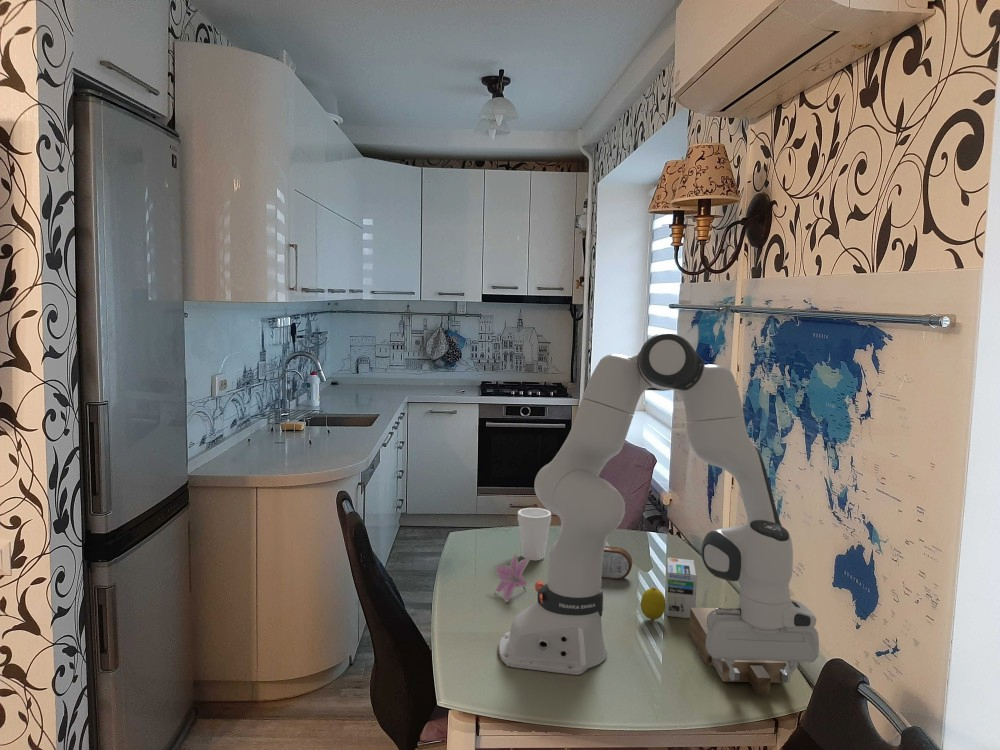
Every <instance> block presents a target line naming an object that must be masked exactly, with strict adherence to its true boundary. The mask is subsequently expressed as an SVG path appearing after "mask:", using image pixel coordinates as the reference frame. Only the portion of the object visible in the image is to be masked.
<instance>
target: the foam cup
mask: <svg viewBox="0 0 1000 750" xmlns="http://www.w3.org/2000/svg"><path fill="white" fill-rule="evenodd" d="M517 522H518V528H519V537H520V547H521V549H520V550H521V555H522V556H523V557H524V558H530V560H539V561H542V560H544V559H545V554H546V549H547V543H548V537H549V531H550V526H551V525H550V524H551V522H552V512H551V511H549V510H548V509H547V508H541V507H526V508H525V507H524V508H522V509H519V510H517ZM522 556H521V557H522ZM523 557H522V558H523ZM524 558H523V559H524ZM543 558H544V559H543ZM541 559H542V560H541Z"/></svg>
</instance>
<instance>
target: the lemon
mask: <svg viewBox="0 0 1000 750" xmlns="http://www.w3.org/2000/svg"><path fill="white" fill-rule="evenodd" d="M640 600H641V601H640V608H641V612H642V614H643V615H644V616H645V617H646V618H647V619H649V620H650V621H651V622H654V621H655V620H658V619H660V618H661V617H663V615H664V614H665V611H666V597H665V596H664V594H663V592H661V590H659V589H658V588H656V587H651V588H648V589H647V590H645V591H644V592H643V594H642V596H641V599H640Z"/></svg>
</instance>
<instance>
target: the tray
mask: <svg viewBox="0 0 1000 750" xmlns="http://www.w3.org/2000/svg"><path fill="white" fill-rule="evenodd" d="M710 659H711V661H712V663H713V665H712V666H714V668H715V669H716V672H717V673H718V675H719V677H720V678H721V680H722V682H732V683H733V682H738V683H740V682H741V683H742V682H745V683H746V682H747V683H750V684H751V686H752V688H753V689H754V691H755V692H756V693H757V694H771V684H772V683H779V684H780V683H783V684H785V683H786V682H781V680H780V679H779V675H780V673H779V670H784V668H785V666H786V665H787V661H768V660H739V659H735V663H734V664H731V665H732V667H733V668H737V669H738V671H739V672H740V676H739V681H731V680H730V678H729V667H728V666H727V664H726V662H725V660H724V659H714V658H712V657H711V656H710Z"/></svg>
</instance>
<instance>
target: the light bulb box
mask: <svg viewBox="0 0 1000 750" xmlns="http://www.w3.org/2000/svg"><path fill="white" fill-rule="evenodd" d="M697 578H698V574H697V570H696V566H695V560H694V559H684V558H674V557H667V558H666V580H665V581H666V582H665V583H666V584H665V586H666V587H665V588H666V589H665V611H666V616H667V617H675V618H681V619H682V618H684V619H690V608H696V607H697V606H696V601H697V580H698V579H697Z"/></svg>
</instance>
